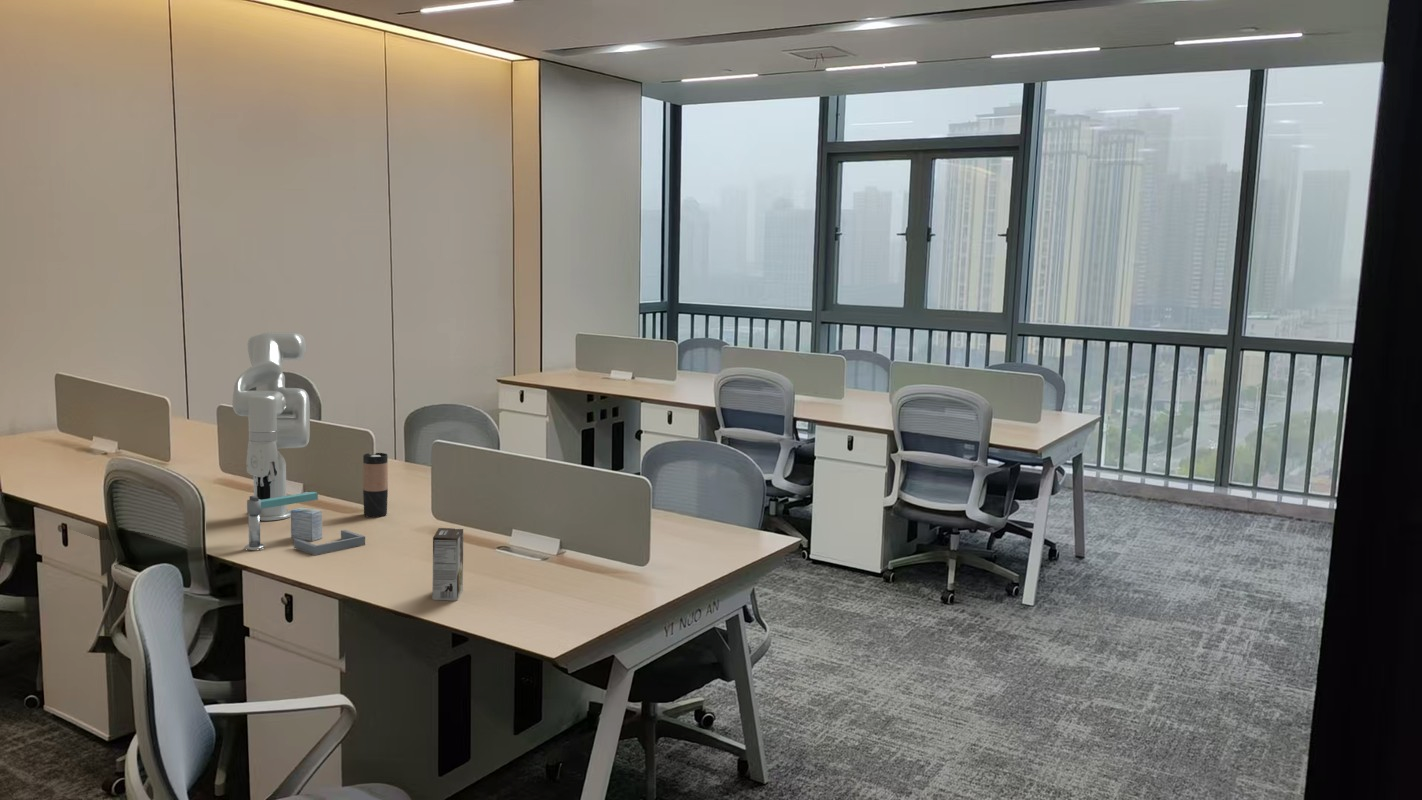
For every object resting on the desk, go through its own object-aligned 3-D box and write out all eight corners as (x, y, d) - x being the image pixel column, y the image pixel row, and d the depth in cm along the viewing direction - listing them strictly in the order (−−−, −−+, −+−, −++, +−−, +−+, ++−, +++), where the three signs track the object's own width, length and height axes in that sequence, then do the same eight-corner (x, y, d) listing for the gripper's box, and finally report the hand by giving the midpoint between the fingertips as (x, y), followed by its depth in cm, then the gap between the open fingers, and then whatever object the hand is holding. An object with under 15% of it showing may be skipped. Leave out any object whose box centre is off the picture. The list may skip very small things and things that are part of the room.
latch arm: (244, 513, 289) (244, 496, 288) (312, 501, 305) (312, 486, 305) (251, 515, 287) (251, 498, 286) (319, 503, 303) (318, 488, 302)
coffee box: (438, 589, 261) (438, 527, 259) (463, 589, 262) (464, 528, 260) (431, 600, 252) (431, 536, 250) (457, 600, 253) (458, 537, 251)
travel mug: (380, 518, 330) (380, 457, 327) (358, 516, 331) (358, 455, 329) (392, 513, 337) (392, 453, 335) (370, 511, 339) (370, 451, 336)
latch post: (241, 548, 290) (241, 514, 289) (258, 545, 294) (258, 511, 293) (250, 551, 287) (250, 517, 286) (267, 548, 291) (267, 514, 290)
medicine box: (322, 538, 304) (322, 510, 303) (312, 542, 300) (312, 513, 299) (301, 535, 306) (300, 506, 305) (290, 538, 302) (290, 510, 301)
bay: (294, 548, 292) (294, 539, 292) (344, 537, 305) (344, 529, 305) (314, 555, 286) (314, 546, 286) (365, 544, 299) (365, 536, 299)
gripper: (237, 434, 298) (238, 496, 300) (264, 441, 289) (264, 505, 291) (261, 432, 304) (262, 492, 306) (288, 438, 295) (289, 501, 297)
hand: (263, 498), depth 299 cm, fingers closed
